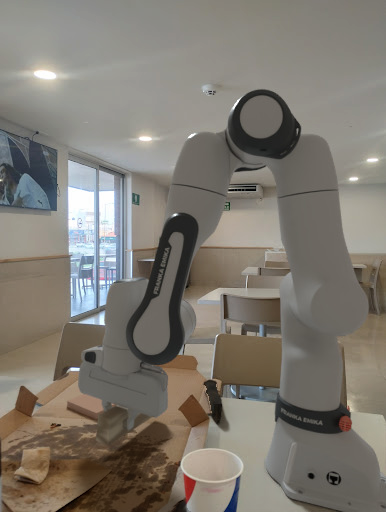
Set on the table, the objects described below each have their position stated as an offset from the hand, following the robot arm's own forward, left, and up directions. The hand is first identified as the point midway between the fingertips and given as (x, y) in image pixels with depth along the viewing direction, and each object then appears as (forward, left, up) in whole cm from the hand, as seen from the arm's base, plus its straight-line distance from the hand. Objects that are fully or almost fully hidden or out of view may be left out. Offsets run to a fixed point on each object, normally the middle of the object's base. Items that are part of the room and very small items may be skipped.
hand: (119, 424), depth 75 cm
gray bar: (0, -5, -2) cm, 5 cm away
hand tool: (-9, -29, -5) cm, 30 cm away
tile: (+11, -10, -4) cm, 15 cm away
